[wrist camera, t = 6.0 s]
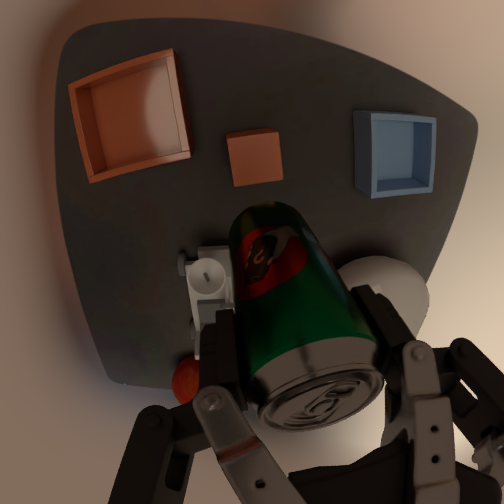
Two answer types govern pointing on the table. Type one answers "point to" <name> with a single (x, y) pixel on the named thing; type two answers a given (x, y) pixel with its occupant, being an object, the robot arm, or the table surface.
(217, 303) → the toy car
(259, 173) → the block
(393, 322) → the robot arm
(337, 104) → the table surface
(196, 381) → the apple
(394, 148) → the blue bin
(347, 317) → the soda can
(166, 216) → the table surface
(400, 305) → the vase
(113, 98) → the terracotta bin
